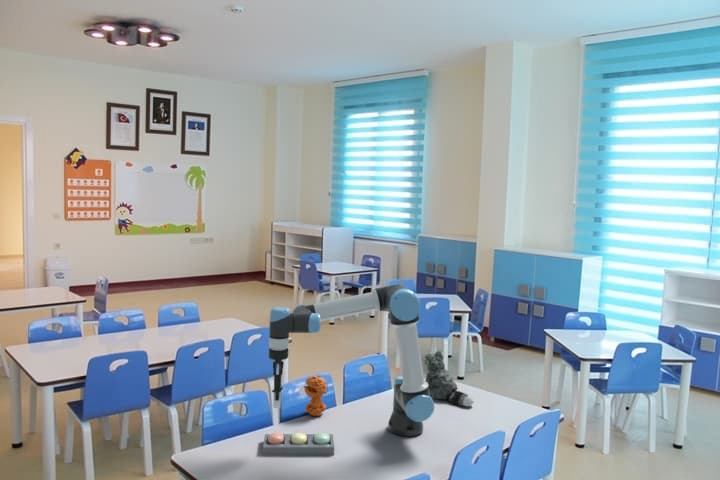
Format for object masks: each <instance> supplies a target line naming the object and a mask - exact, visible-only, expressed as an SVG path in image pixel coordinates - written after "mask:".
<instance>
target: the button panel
mask: <svg viewBox="0 0 720 480" xmlns="http://www.w3.org/2000/svg"><path fill="white" fill-rule="evenodd" d="M270 434H271V433H265V434H264V438H263V445H262V455H263V456H264V455H265V456H268V455H271V456H272V455H273V456H274V455H275V456H277V455H278V456H283V455H284V456H309V455H310V456H334V455H335V442H334V441H335V440H334V434H332V433H329V434H328V433H327V434H328V435H329V436H330V442H329V444H314V436H315V435H316V434H317V433H315V434H314V433H308V434H306V433H304V434H305V435H306V436H307V443H306V444H291V436H292V435H293V434H294V433H281V434H282V435H283V436H284V441H283V444H268V436H269V435H270Z"/></svg>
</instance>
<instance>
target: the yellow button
mask: <svg viewBox="0 0 720 480" xmlns="http://www.w3.org/2000/svg"><path fill="white" fill-rule="evenodd" d="M292 434H293V435H292V436H291V444H306V443H307V436H306V435H305V434H306V433H301V432H299V433H298V432H296V433H292Z"/></svg>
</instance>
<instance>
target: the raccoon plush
mask: <svg viewBox="0 0 720 480" xmlns="http://www.w3.org/2000/svg"><path fill="white" fill-rule="evenodd" d="M443 360H444V355H443V353H442V351H439V350H436V351H435V353H427V354H425V355H424V361H423V363H422V365H423V366H422V369H423V373H424V374H425V376H426V377H425V379H424V380H425V381H426V382H427V383H428V385H429V392H430V397H431V398H432V399H437V400H445V401H449V402H450V403H452V404H454V405H458V406H462V407H463V406H464V407H472V405H473V404H474V402H475V401H474V399H473V397H472V396H470V395H468V394H467V393H465V392H462V391H460V390H458V385H457V382H455V381H454V380H453V377H452V376H451V375H450V374H449V371H448V370H447V369H446V368H445V367H446V364H445V363H444V361H443Z"/></svg>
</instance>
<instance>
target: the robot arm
mask: <svg viewBox="0 0 720 480" xmlns="http://www.w3.org/2000/svg"><path fill="white" fill-rule="evenodd" d="M371 311H372V312H373V311H377V312H384V311H386V312H388V313H389V320H390V325H391V326H393V327H394V328H395V335H396V343H397V349H398V356H399V363H400V371H401V375H399V376H397V377H395V379H394V382H393V383H394V384H393V399H392V400H393V403H392V412H391V415H390V417H389V420H388V423H387V424H388V425H387V429H388V430H389V431H390V432H391V433H393V434H395V435H399V436H403V437H413V436H418V435H420V434H422V433H423V432H424V423H423V422H424V421H426V420H428V419H429V418H430V417H432V415H433V413H434V411H435V403H434V399H433V398H431V397H430V392H429V385H428V383H427V382H426V380H425V379H424V377H425V376H424V370H423V363H422V356H421V355H422V354H421V348H420V343H419V342H420V341H419V335H418V328H417V327H418V326H417V324H418V323H419V321H420V314H419V313H420V311H421V302H420V298H419V297H418V296H417V294H416V293H415V292H414V291H412V290H411V289H409V288H407V287H405V286H404V285H401V284H391V285H386V286H381V287H378V288H374V289H372V291H371V292H366V293H361V294H356V295H352V296H346V297H342V298H338V299H333V300H328V301H323V302H318V303H314V304H309V305H305V304H299V305H296V306H295V307H294V309H293V310H292V312H291V311H290V308H289V307H283V306H282V307H281V306H280V307H279V306H277V307H273V308H272V309H271V310H270V313H269V331H268V332H269V336H268V347H269V348H268V358H269V359H270V360H272V362H273V363H272V369H273V370H272V371H273V379H274V380H273V381H274V382H273V389H272V390H271V393H273V399H272V400H273V404H272V405H273V406H272V407H273V409H281V402H282V401H281V400H282V399H281V398H282V397H281V396H282V391H283V390H284V389H283V387H282V375H283V369H284V361H285V360H287V359H288V358H289V351H290V350H289V343H290V342H291V339H290V334H314V333H316V334H317V333H319V332H320V330H321V326H322V325H321V324H322V323H321V322H324V321H325V322H326V321H328V320H329V321H330V320H333V319H339V318H344V317H348V316H353V315H357V314H362V313H367V312H368V313H369V312H371ZM273 360H274V361H273Z"/></svg>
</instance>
